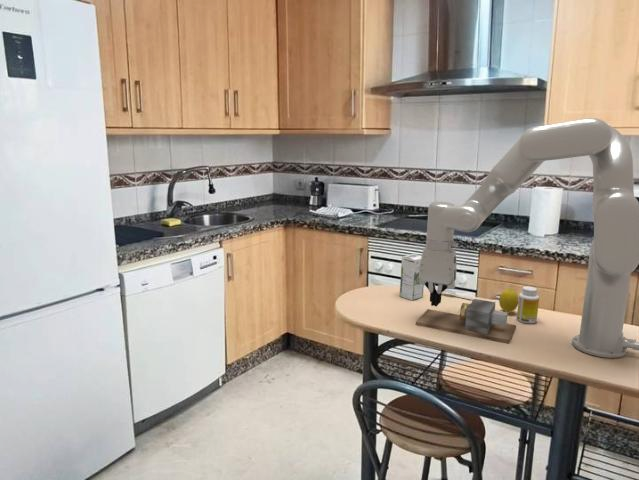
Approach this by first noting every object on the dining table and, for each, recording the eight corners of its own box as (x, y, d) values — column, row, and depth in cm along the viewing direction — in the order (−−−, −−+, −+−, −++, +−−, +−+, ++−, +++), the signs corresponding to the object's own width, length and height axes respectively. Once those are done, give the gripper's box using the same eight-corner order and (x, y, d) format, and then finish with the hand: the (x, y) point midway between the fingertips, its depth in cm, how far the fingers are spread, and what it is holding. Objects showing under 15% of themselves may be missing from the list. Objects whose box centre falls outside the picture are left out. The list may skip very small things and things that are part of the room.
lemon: (519, 312, 155) (522, 288, 153) (513, 317, 151) (515, 292, 149) (502, 308, 159) (504, 284, 157) (495, 313, 155) (497, 288, 153)
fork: (492, 313, 162) (493, 305, 161) (431, 294, 172) (433, 287, 172) (494, 310, 164) (496, 302, 164) (434, 292, 175) (436, 285, 174)
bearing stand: (515, 328, 143) (518, 304, 141) (509, 343, 133) (511, 318, 131) (427, 312, 155) (428, 290, 153) (415, 324, 145) (416, 301, 143)
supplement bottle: (540, 322, 147) (544, 290, 145) (525, 325, 145) (529, 292, 143) (527, 316, 152) (530, 284, 150) (512, 318, 150) (515, 286, 148)
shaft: (507, 324, 140) (508, 308, 139) (504, 330, 136) (505, 313, 135) (463, 316, 146) (464, 300, 145) (459, 322, 142) (460, 305, 141)
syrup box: (410, 293, 173) (412, 253, 170) (423, 297, 168) (425, 256, 165) (399, 296, 169) (401, 255, 166) (412, 301, 165) (415, 259, 162)
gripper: (468, 245, 143) (463, 305, 147) (418, 239, 150) (414, 296, 154) (462, 250, 136) (457, 313, 140) (410, 244, 143) (406, 304, 147)
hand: (435, 304), depth 147 cm, fingers closed
